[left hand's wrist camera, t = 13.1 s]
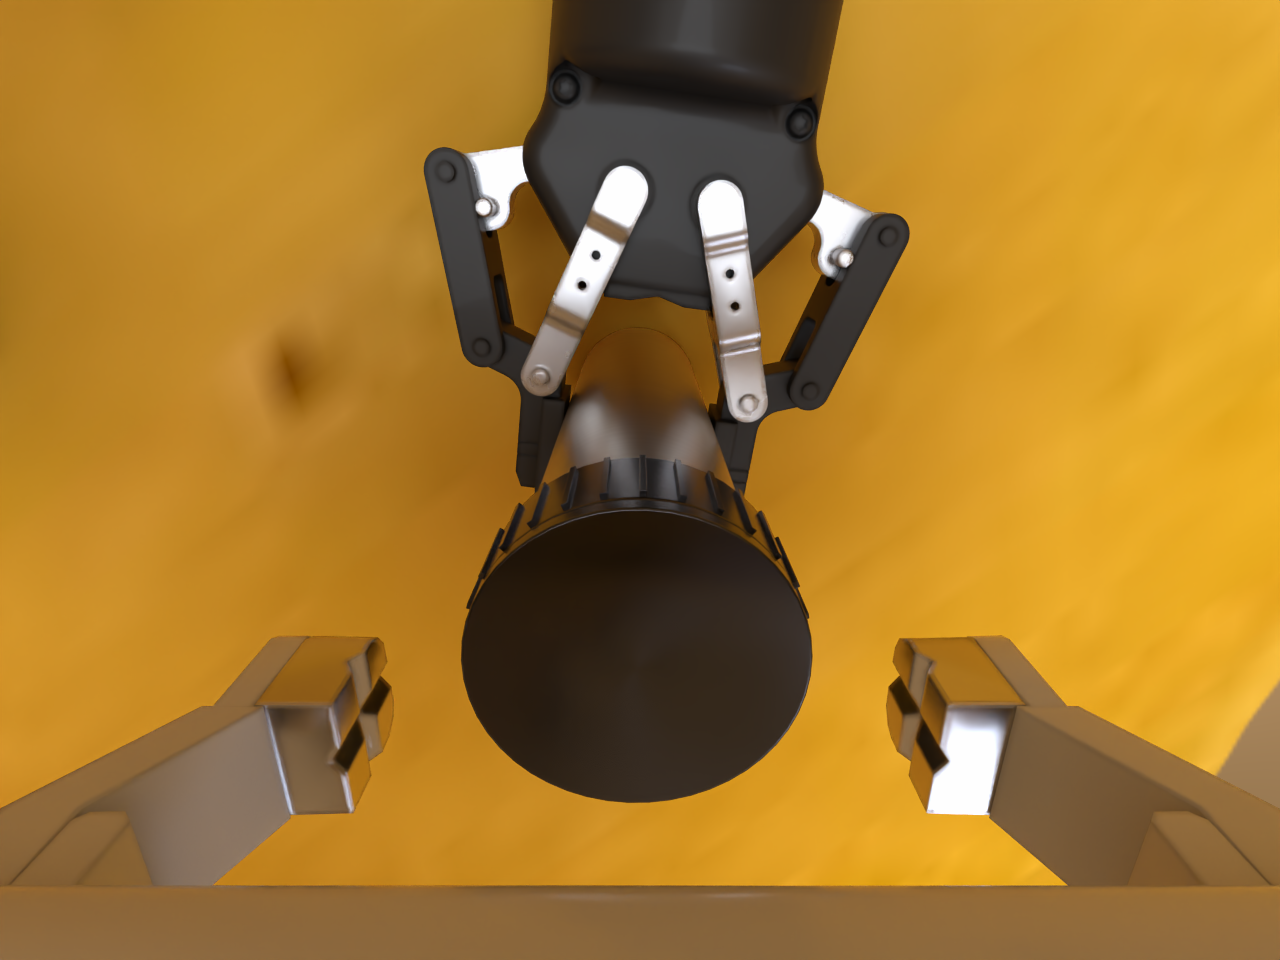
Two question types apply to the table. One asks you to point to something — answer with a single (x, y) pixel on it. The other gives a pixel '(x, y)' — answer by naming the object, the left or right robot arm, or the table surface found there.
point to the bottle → (637, 408)
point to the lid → (636, 633)
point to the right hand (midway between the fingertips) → (627, 505)
